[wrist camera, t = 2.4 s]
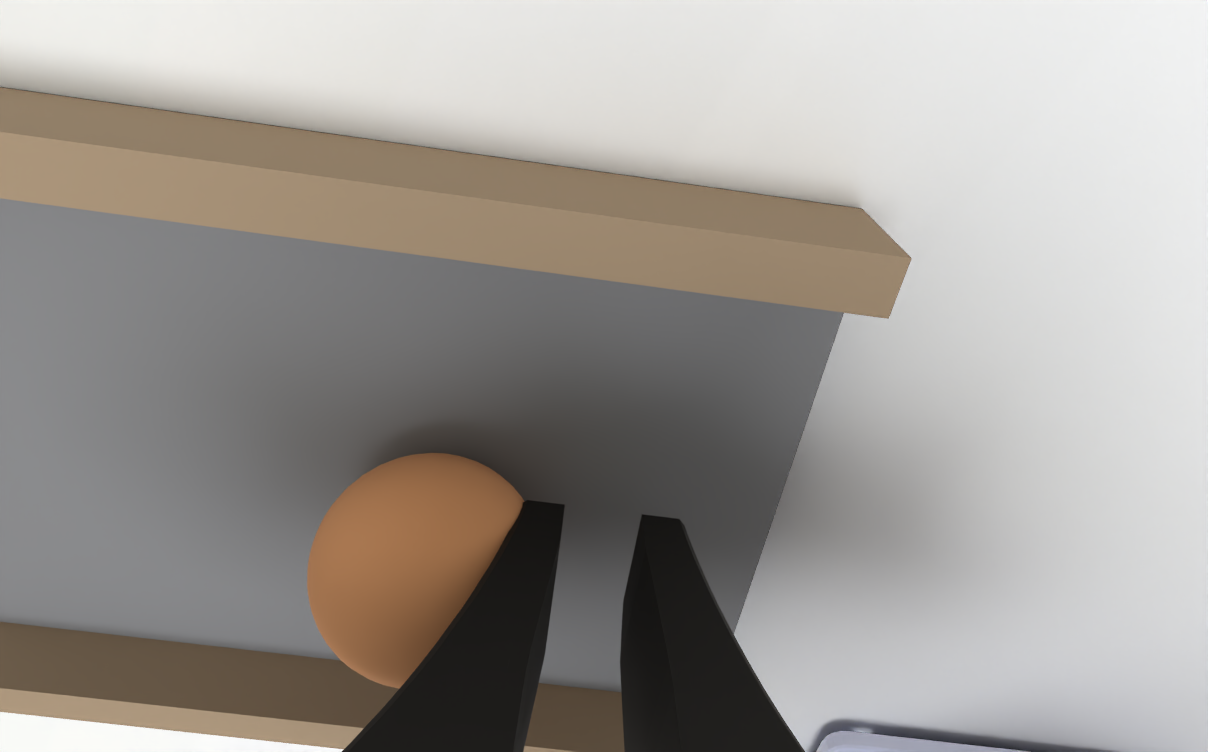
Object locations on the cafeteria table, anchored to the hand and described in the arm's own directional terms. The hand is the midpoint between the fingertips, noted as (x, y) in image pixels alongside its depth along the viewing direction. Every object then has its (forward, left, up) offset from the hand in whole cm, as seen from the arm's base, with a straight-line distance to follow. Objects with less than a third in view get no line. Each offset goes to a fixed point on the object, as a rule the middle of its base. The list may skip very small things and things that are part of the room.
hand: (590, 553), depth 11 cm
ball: (+4, 0, 0) cm, 4 cm away
